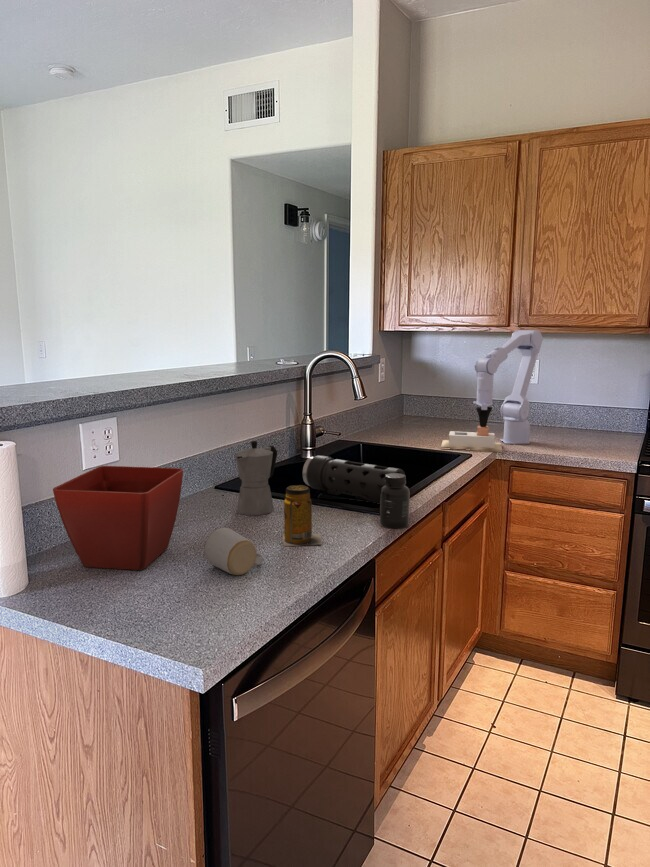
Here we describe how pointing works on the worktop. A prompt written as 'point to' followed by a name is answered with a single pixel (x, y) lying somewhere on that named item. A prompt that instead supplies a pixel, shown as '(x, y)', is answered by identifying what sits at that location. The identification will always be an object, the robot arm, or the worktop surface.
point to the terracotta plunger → (483, 431)
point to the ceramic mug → (231, 552)
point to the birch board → (496, 447)
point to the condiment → (298, 518)
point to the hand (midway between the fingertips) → (483, 426)
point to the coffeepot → (255, 479)
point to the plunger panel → (471, 440)
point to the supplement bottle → (394, 502)
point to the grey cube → (461, 433)
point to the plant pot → (120, 514)
